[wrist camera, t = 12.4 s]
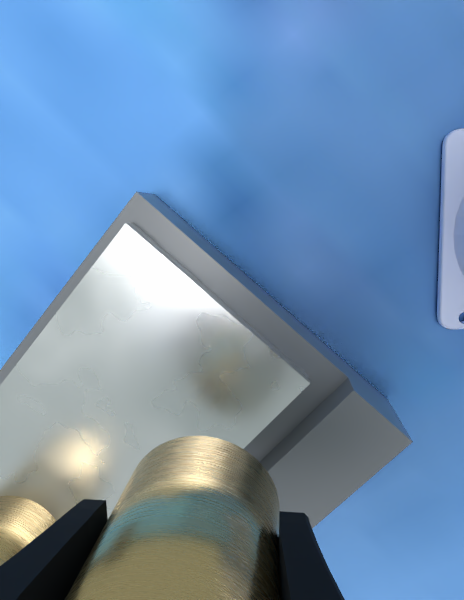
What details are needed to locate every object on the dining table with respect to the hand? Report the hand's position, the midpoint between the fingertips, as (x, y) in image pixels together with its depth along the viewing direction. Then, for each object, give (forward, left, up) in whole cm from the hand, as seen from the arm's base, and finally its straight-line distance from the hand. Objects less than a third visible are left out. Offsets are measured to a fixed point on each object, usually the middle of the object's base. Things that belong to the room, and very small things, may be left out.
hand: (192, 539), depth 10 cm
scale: (+5, +3, -9) cm, 11 cm away
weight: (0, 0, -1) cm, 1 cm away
